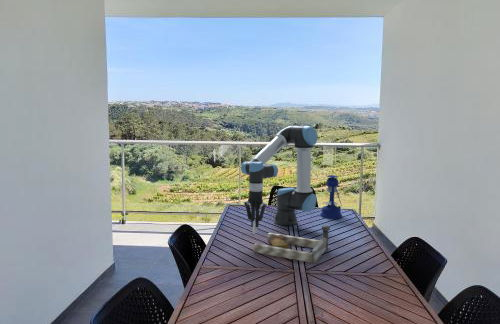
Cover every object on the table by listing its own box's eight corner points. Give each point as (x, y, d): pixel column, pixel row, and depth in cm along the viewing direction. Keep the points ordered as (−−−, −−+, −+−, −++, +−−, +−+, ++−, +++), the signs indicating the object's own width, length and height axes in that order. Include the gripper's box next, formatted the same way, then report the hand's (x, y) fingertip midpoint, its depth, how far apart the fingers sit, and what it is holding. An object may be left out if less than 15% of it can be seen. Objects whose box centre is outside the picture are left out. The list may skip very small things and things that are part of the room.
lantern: (319, 212, 271) (321, 172, 267) (340, 213, 269) (342, 173, 265) (320, 218, 254) (322, 176, 250) (343, 219, 252) (345, 177, 248)
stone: (289, 252, 190) (289, 243, 189) (271, 253, 189) (271, 243, 188) (283, 243, 205) (283, 234, 204) (267, 243, 203) (267, 234, 203)
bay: (253, 251, 190) (253, 230, 188) (271, 237, 213) (271, 218, 211) (318, 263, 175) (318, 240, 174) (329, 246, 199) (330, 226, 197)
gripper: (241, 190, 197) (241, 232, 199) (264, 192, 191) (263, 236, 194) (247, 188, 204) (246, 229, 206) (269, 190, 198) (268, 232, 201)
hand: (254, 232), depth 200 cm, fingers closed
